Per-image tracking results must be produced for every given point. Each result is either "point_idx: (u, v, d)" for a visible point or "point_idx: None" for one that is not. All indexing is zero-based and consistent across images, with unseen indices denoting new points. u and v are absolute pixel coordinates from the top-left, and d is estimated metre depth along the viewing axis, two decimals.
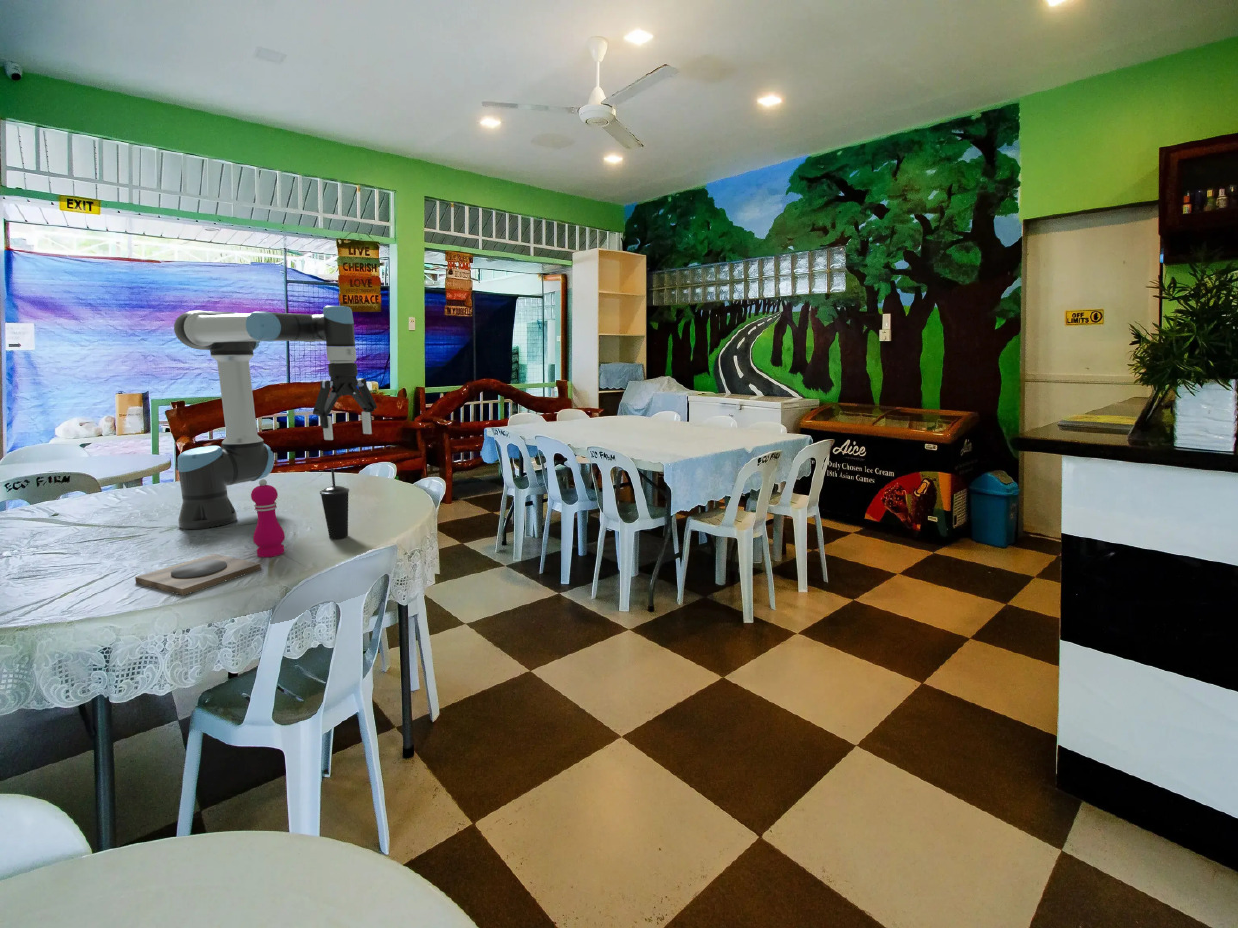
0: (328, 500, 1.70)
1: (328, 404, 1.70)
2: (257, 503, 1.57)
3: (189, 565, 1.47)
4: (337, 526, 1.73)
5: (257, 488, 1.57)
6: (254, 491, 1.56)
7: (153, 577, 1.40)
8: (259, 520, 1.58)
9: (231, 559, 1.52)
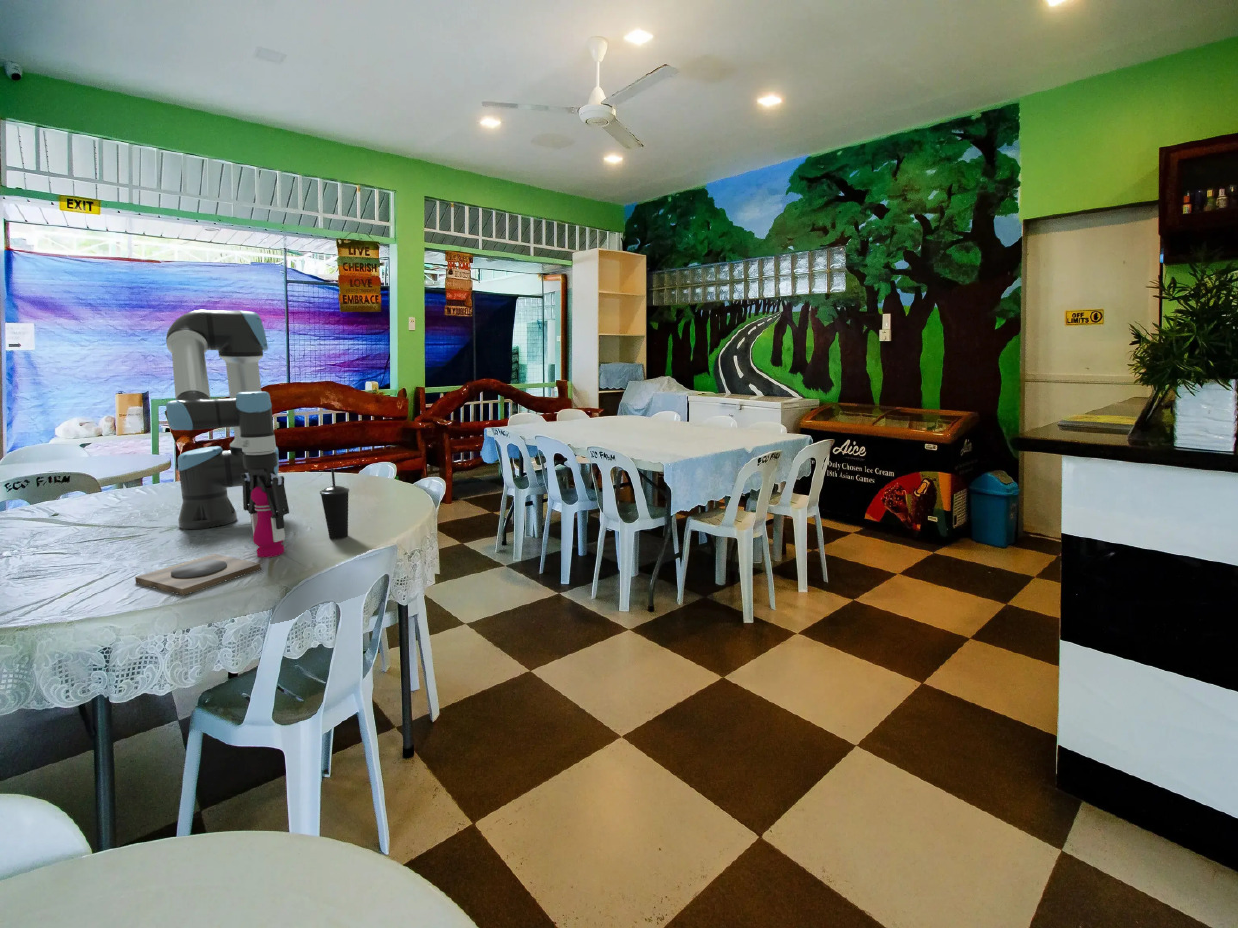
0: (328, 500, 1.70)
1: None
2: (257, 503, 1.57)
3: (189, 565, 1.47)
4: (337, 526, 1.73)
5: (257, 488, 1.57)
6: (254, 491, 1.56)
7: (153, 577, 1.40)
8: (259, 520, 1.58)
9: (231, 559, 1.52)
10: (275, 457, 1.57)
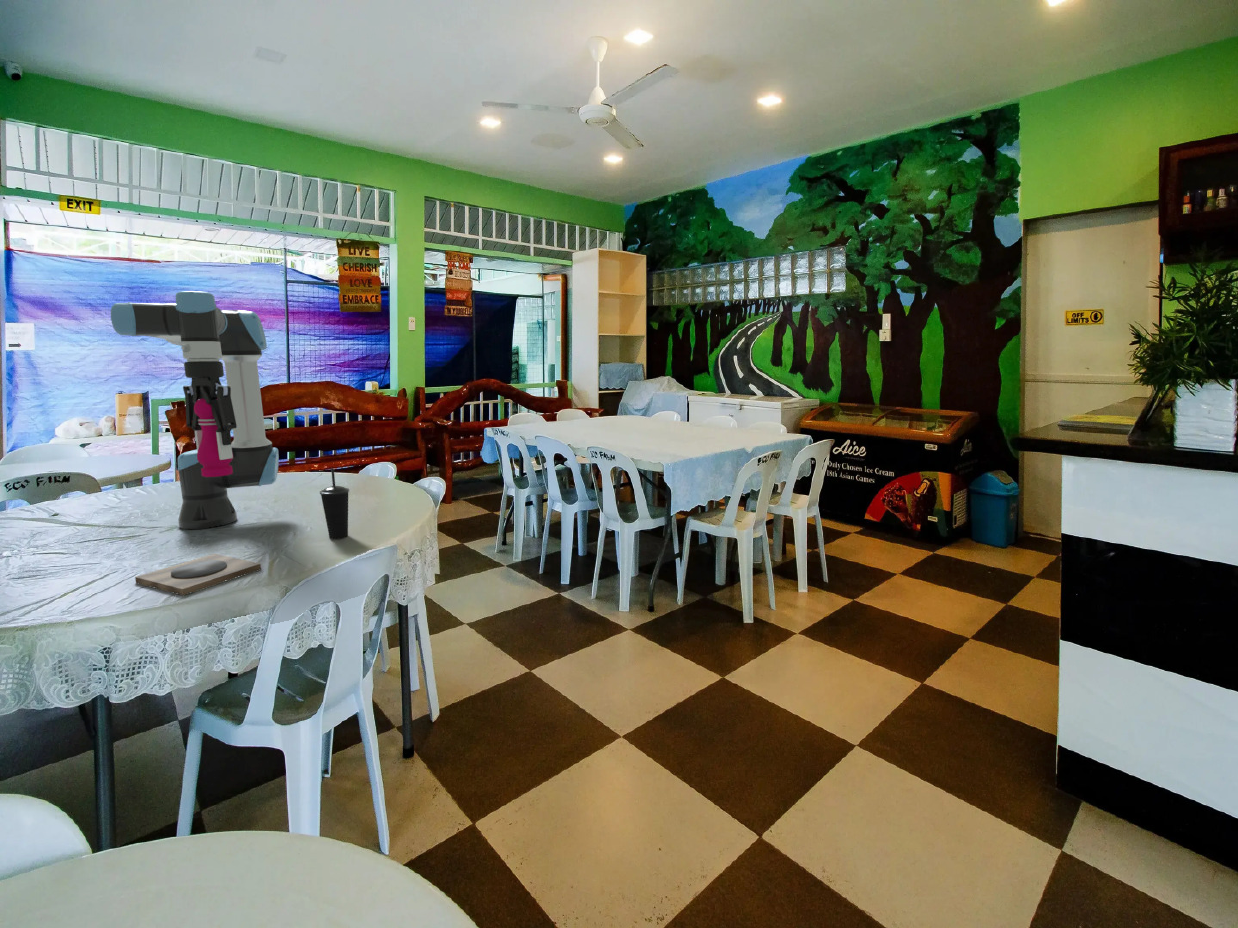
0: (328, 500, 1.70)
1: None
2: (201, 416, 1.43)
3: (189, 565, 1.47)
4: (337, 526, 1.73)
5: (201, 400, 1.42)
6: (197, 403, 1.42)
7: (153, 577, 1.40)
8: (203, 436, 1.44)
9: (231, 559, 1.52)
10: (221, 366, 1.43)
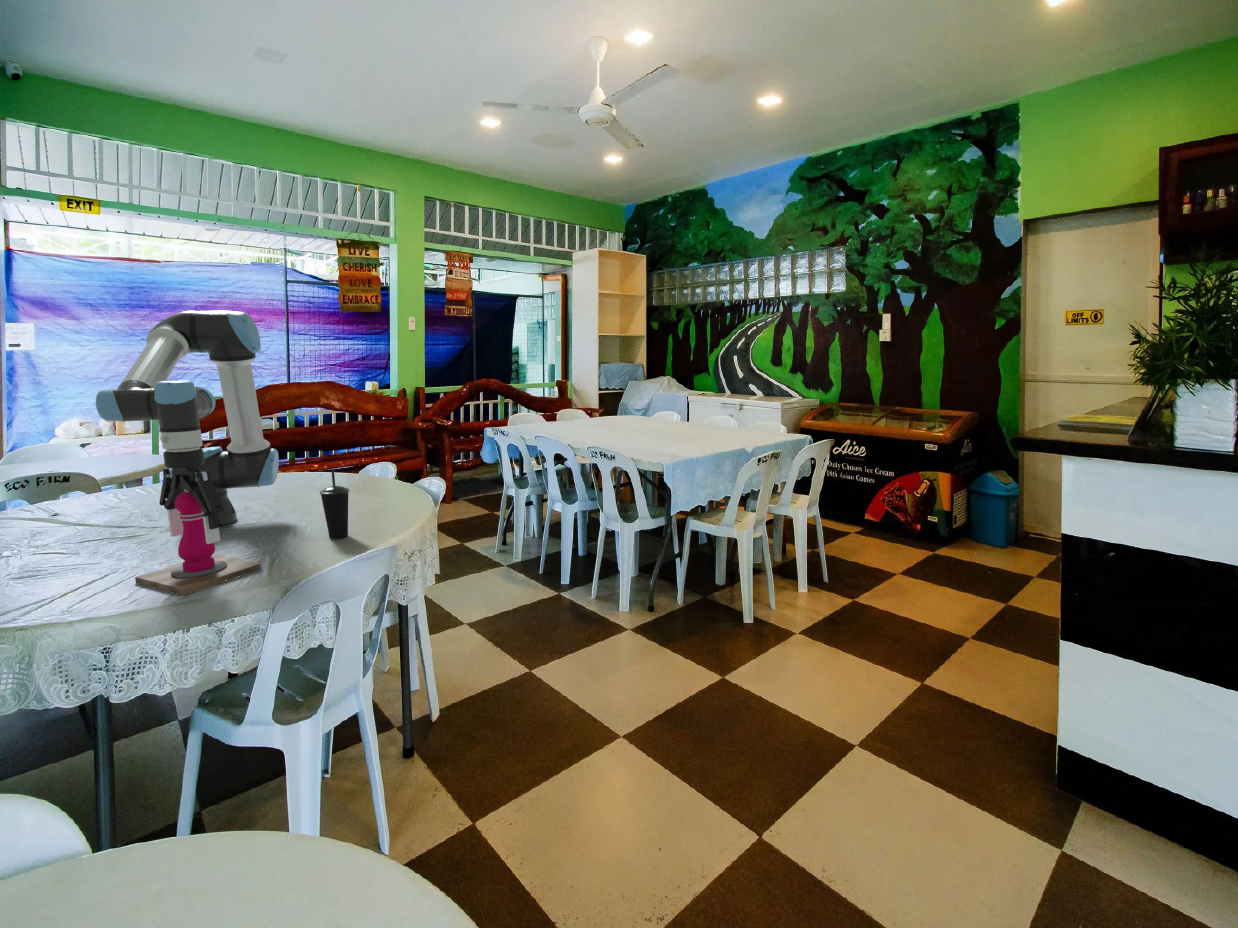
0: (328, 500, 1.70)
1: None
2: (181, 512, 1.40)
3: None
4: (337, 526, 1.73)
5: (181, 495, 1.40)
6: (178, 499, 1.40)
7: (153, 577, 1.40)
8: (184, 531, 1.42)
9: (231, 559, 1.52)
10: (201, 454, 1.41)
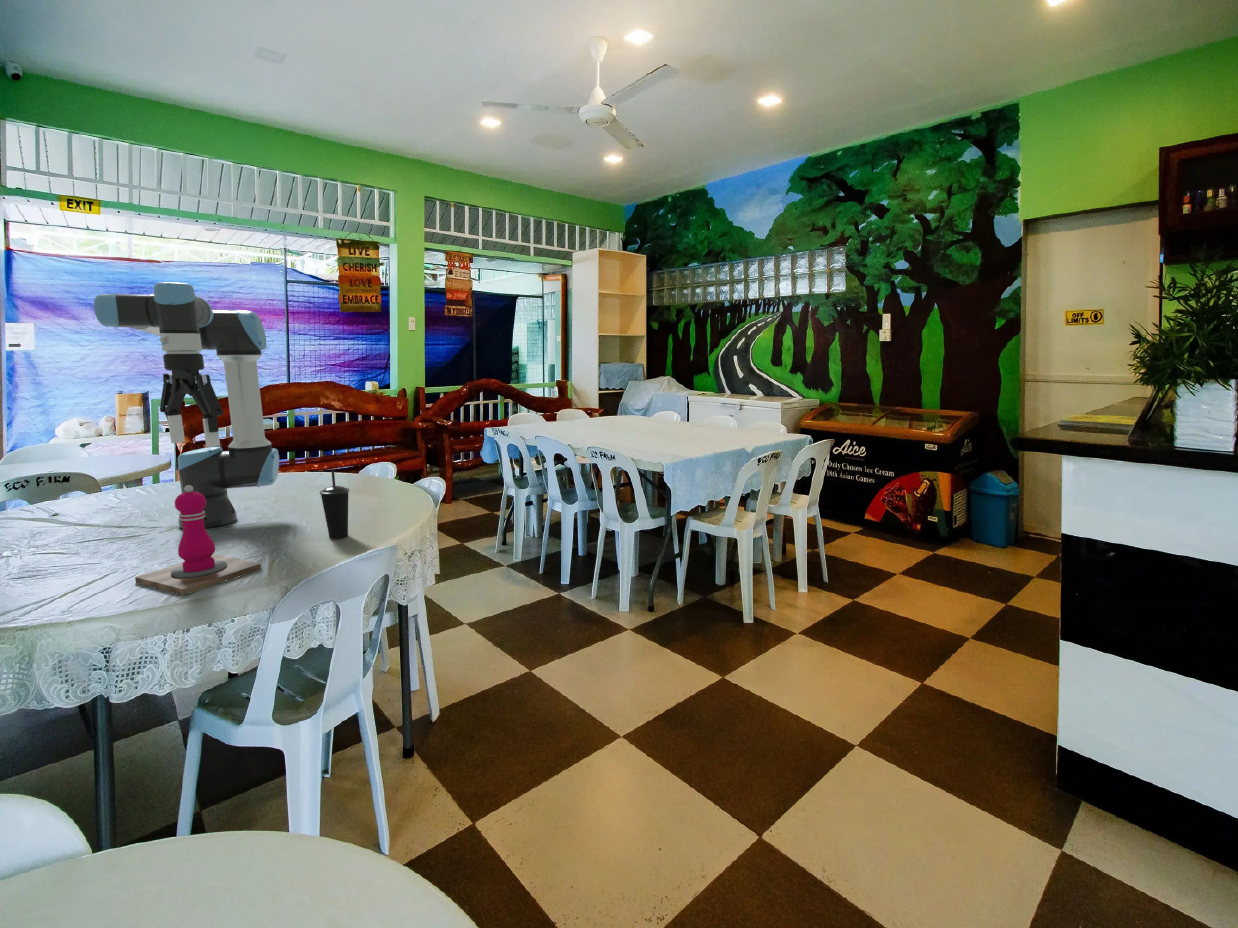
0: (328, 500, 1.70)
1: None
2: (181, 512, 1.41)
3: None
4: (337, 526, 1.73)
5: (181, 495, 1.40)
6: (178, 499, 1.40)
7: (153, 577, 1.40)
8: (184, 531, 1.42)
9: (231, 559, 1.52)
10: (200, 358, 1.41)
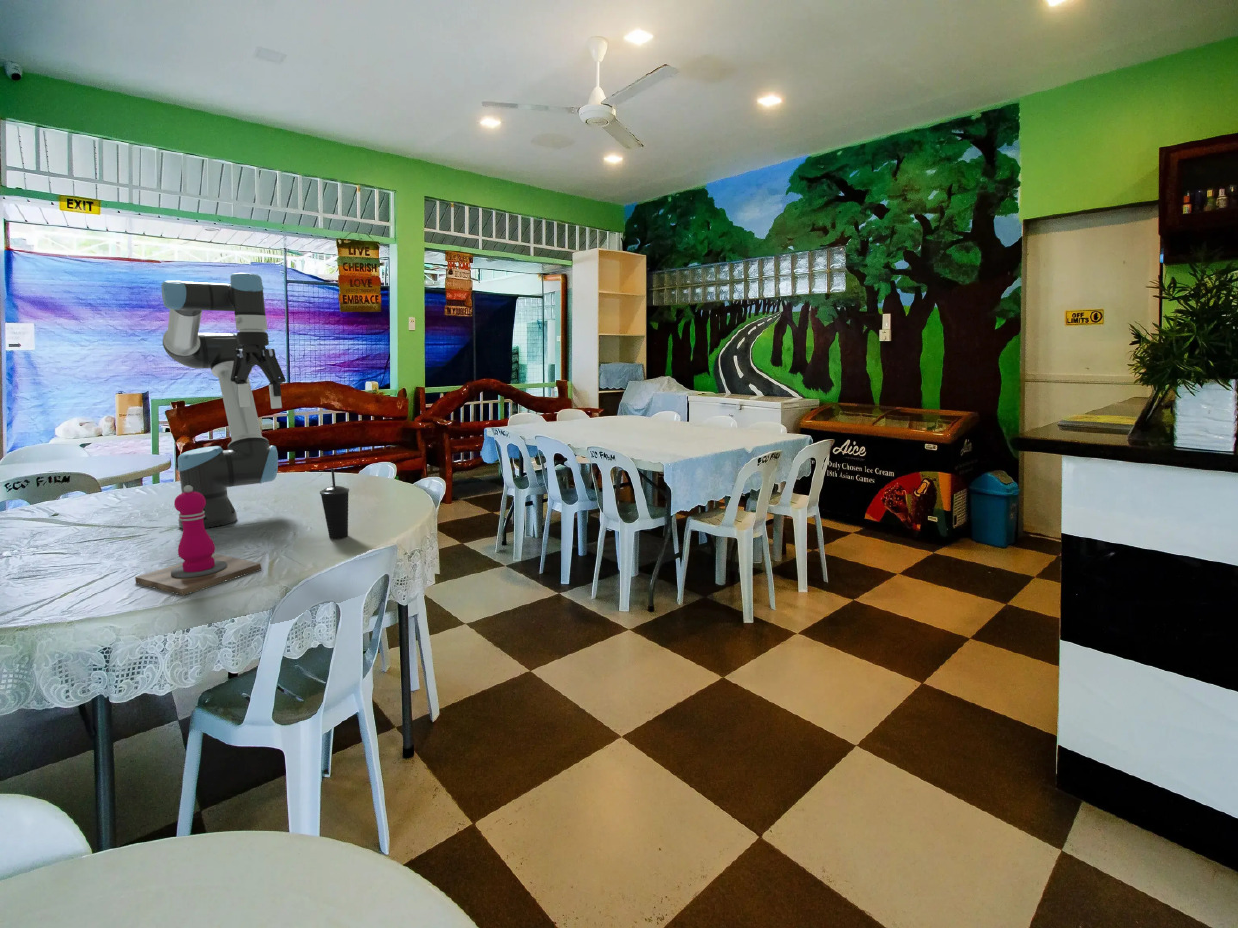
0: (328, 500, 1.70)
1: None
2: (181, 512, 1.40)
3: None
4: (337, 526, 1.73)
5: (181, 495, 1.40)
6: (178, 499, 1.40)
7: (153, 577, 1.40)
8: (184, 531, 1.42)
9: (231, 559, 1.52)
10: (266, 336, 1.72)
